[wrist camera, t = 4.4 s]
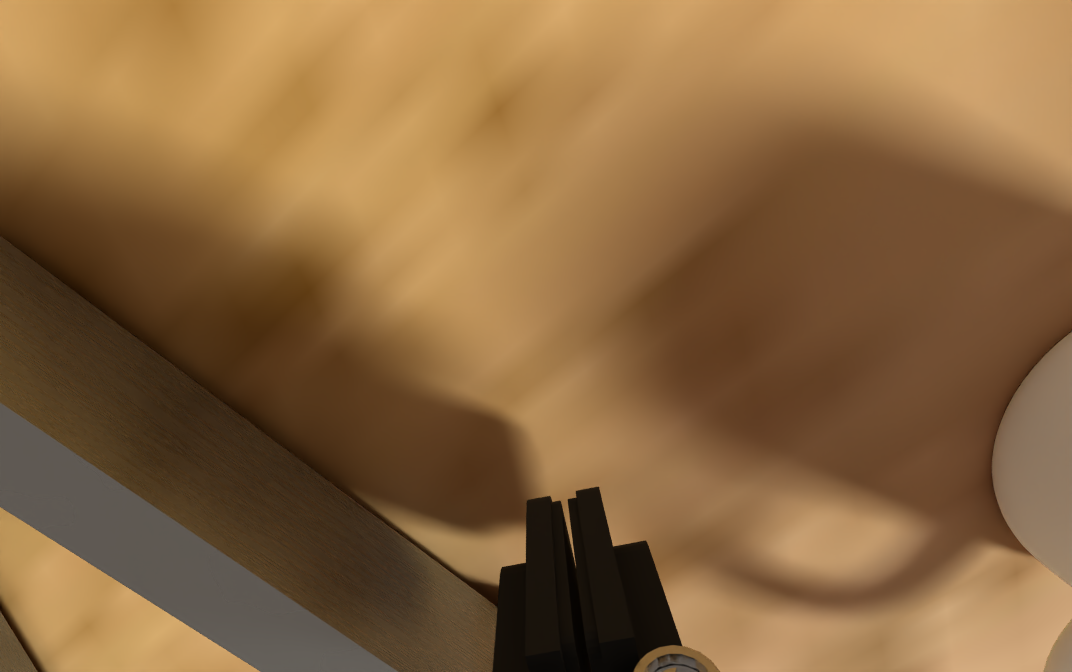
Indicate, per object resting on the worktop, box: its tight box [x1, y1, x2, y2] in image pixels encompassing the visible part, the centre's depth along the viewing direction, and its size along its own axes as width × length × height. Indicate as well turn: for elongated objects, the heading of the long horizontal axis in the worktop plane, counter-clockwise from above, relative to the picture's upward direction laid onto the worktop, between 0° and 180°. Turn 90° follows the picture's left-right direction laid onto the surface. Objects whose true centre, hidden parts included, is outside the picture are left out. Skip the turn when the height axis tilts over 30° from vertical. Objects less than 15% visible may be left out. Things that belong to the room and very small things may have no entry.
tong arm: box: [0, 236, 497, 672], centre depth 10 cm, size 24×5×5 cm, turn 46°
